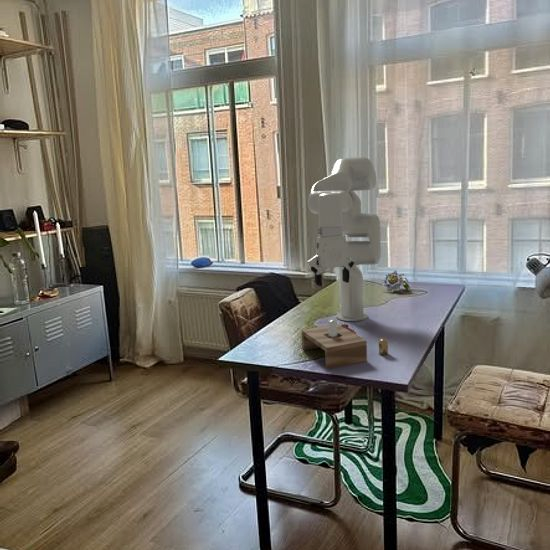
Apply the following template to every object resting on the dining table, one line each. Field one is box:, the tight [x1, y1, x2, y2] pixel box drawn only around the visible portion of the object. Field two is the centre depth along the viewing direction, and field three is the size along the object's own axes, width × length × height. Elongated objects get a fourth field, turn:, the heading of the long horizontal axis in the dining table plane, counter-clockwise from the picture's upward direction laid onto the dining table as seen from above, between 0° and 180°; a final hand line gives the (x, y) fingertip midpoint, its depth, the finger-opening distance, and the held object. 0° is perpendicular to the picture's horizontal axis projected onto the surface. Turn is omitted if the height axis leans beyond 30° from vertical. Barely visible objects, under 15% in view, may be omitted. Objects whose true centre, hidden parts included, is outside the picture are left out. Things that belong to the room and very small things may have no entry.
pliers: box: [337, 320, 357, 335], centre depth 201 cm, size 12×20×3 cm, turn 173°
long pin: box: [327, 318, 338, 338], centre depth 176 cm, size 3×3×12 cm
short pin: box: [378, 337, 389, 356], centre depth 175 cm, size 3×3×5 cm
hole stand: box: [301, 323, 368, 370], centre depth 177 cm, size 20×14×7 cm
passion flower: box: [380, 270, 411, 294], centre depth 256 cm, size 11×11×12 cm
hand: (332, 283), depth 173 cm, fingers open, 9 cm apart
